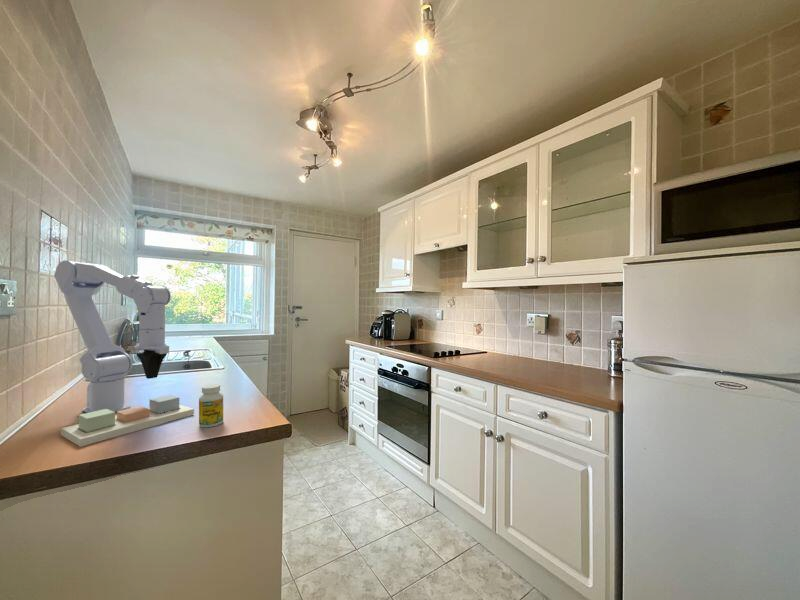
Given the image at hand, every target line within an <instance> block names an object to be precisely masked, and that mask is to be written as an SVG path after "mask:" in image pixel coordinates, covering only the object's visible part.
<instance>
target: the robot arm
mask: <svg viewBox="0 0 800 600" xmlns="http://www.w3.org/2000/svg"><path fill="white" fill-rule="evenodd" d="M53 277H54V278H55V280H56V283H57V285H58V287H59V290H60V292H61V293H62V294H63V296H64V299H65V302H66V304H67V307H68V308H69V311H70V313H71V316H72V317H73V320H74V322H75V325H76V327H77V328H78V332H79V334H80V335H81V339H82V340H83V343H84V345H85V347H86V349H87V351H85V352H84V353H83V355H82V356H81V357H80V358H79V362H80V365H81V374H82V376H83V377H84V378H85V379H86V381H87V382H89V383H88V385H87V388H86V408H85V407H83V408H82V409H81V410H82V411H83V412H85V413H89V412H94V411H99V410H103V409H108V410H111V411H113V412H115V413H116V412H117V411H121V410H125V409H129V408H131V406H130V405H127V404H125V378H126V377H128V374H129V373H130V372H131V370H132V368H133V359H132V357H131V356H130V355H129V354H128V353H127V352H126V351H125V349H124V347H121V346H119V345H117V344H115V343H113V342H112V340H111V338H110V335H109V333H108V331H107V329H106V326H105V325H104V322H103V320H102V318H101V316H100V312H99V311H98V308H97V306H96V304H95V302H94V299H93V296H95V295H96V294H98V293H99V292H100V290H101V289H102V287H103V286H104V284H105V283H106V284H107V285H111V286H113V287H115V289H116V291H117V292H118V293H119V294H121V295H124V296H125V297H128V298H129V299H132V300H133V301H134V304H135V305H136V310H137V313H138V319H139V320H138V342H137V343H135V345H133V349H134V350H136V351H142V352H139V353H137V354H136V357H137V358H138V360H139V361H140V363H141V364H142V369H143V373H144V375H145V378H146V379H155V378H156V379H157V378H158V375H159V374H160V373H159V372H160V368H161V366H162V363H163V360H164V359H165V358H166V356H167V355H168V354H170V345H167V344H166V341H165V340H166V336H165V335H166V306H167V305H169V303H170V301H171V292H170V290H169V289H168V288H167V287H166V286H164V285H158V286H157V285H154V284H153V282H151V281H147V280H146V281H145V280H143V279H141V278H140V276H139V275H137V274H129V275H122V274H120V273H118V272H116V271H115V270H112V269H111V268H110V267H109V266H107V265H103V264H102V263H89V262H81V261H71V260H68V259H67V260H65V259H64V260H61V261H60V262H59V263H58V264H57V266H56V267H55V271H54V275H53Z"/></svg>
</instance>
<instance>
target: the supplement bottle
mask: <svg viewBox="0 0 800 600" xmlns="http://www.w3.org/2000/svg"><path fill="white" fill-rule="evenodd" d="M220 391H221V385H220V384H208V385H207V384H206V385H204V386H202V387H201V392H202V395H200V396H199V398H198V425H199V427H200V428H204V427H206V428H213V426H214V427H217V426H219V425H221V424H223V423H224V394H223V393H222V392H220Z"/></svg>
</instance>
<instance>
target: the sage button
mask: <svg viewBox="0 0 800 600" xmlns="http://www.w3.org/2000/svg"><path fill="white" fill-rule="evenodd" d="M115 415H116V411H115V412H113V411H111V410H108V409H103V410H99V411H94V412H89V413H87V412H85V413H81V414H78V424H79V428H80V429H82V430H84V431H86V432H87V433H89V431H91V432H93V430H95V431H96V430H97V429H99V430H100V429H101V428H103V429H104V428H105V427H107V428H108V427H109V426H113V425H115Z"/></svg>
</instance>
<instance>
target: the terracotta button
mask: <svg viewBox="0 0 800 600" xmlns="http://www.w3.org/2000/svg"><path fill="white" fill-rule="evenodd" d="M148 408H149V407H146V406H145V407H144V406H141V405H138V406H135V407H130V408H128V409H124V410H120V411H116V415H117V420H118V421H120V422H123V423H127V422H131V421H135V420H139V419H143V418H147V417H150V409H148Z"/></svg>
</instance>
